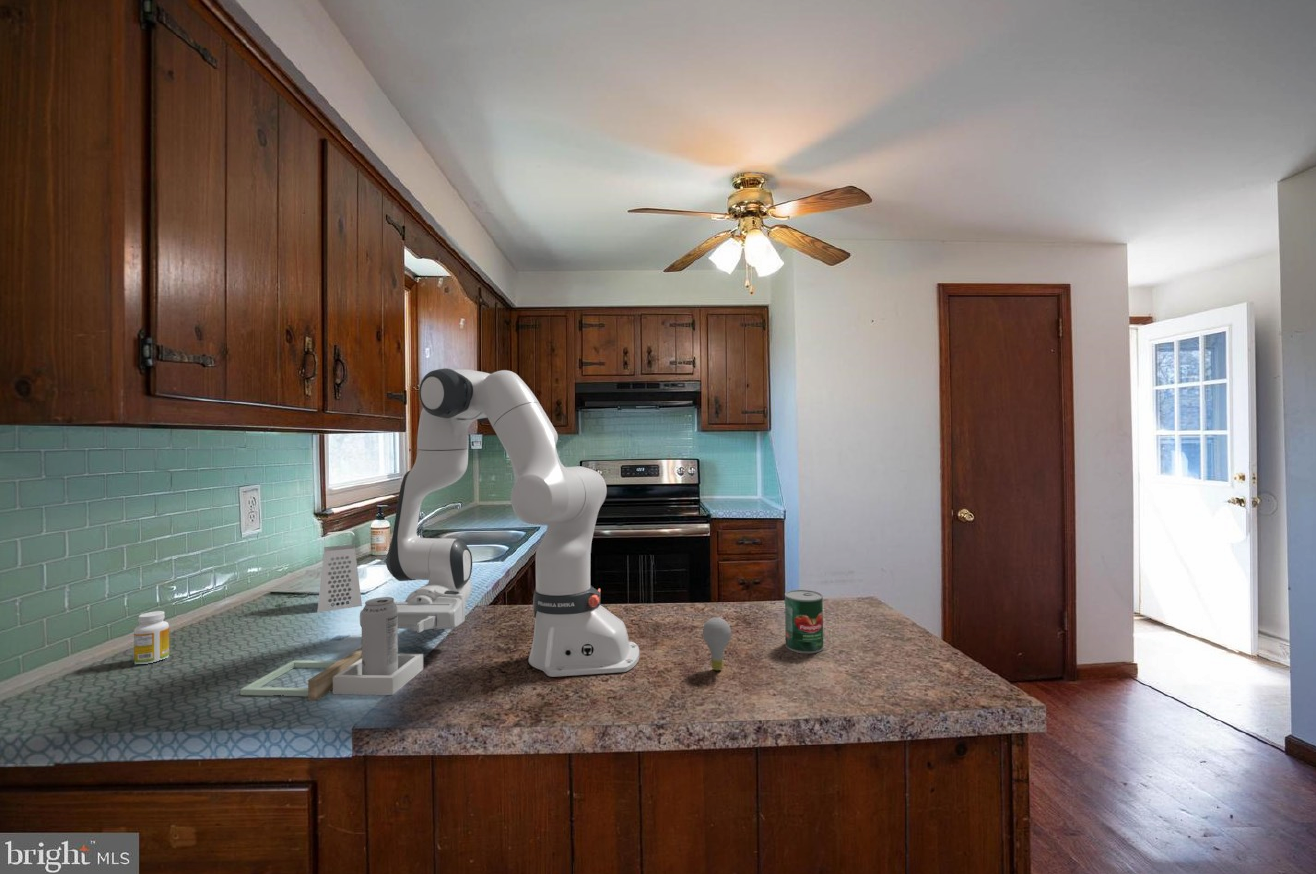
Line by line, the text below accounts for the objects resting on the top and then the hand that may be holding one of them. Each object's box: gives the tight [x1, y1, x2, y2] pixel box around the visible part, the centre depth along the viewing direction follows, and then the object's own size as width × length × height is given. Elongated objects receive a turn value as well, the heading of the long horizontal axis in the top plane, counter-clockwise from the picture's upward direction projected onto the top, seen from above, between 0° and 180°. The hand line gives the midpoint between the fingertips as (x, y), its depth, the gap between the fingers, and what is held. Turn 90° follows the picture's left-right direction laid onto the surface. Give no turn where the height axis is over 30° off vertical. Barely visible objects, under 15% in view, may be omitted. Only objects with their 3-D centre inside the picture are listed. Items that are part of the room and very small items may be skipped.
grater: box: [316, 530, 363, 613], centre depth 154 cm, size 10×10×20 cm
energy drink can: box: [360, 596, 399, 675], centre depth 103 cm, size 6×6×15 cm
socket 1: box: [239, 659, 339, 697], centre depth 104 cm, size 13×13×1 cm
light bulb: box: [702, 617, 732, 672], centre depth 106 cm, size 6×6×10 cm
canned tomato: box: [784, 589, 825, 654], centre depth 118 cm, size 8×8×11 cm
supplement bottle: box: [133, 610, 170, 665], centre depth 115 cm, size 5×5×10 cm
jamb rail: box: [307, 646, 362, 701], centre depth 104 cm, size 2×16×4 cm, turn 176°
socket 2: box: [332, 653, 424, 696], centre depth 103 cm, size 11×11×3 cm
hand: (392, 628), depth 107 cm, fingers open, 8 cm apart
